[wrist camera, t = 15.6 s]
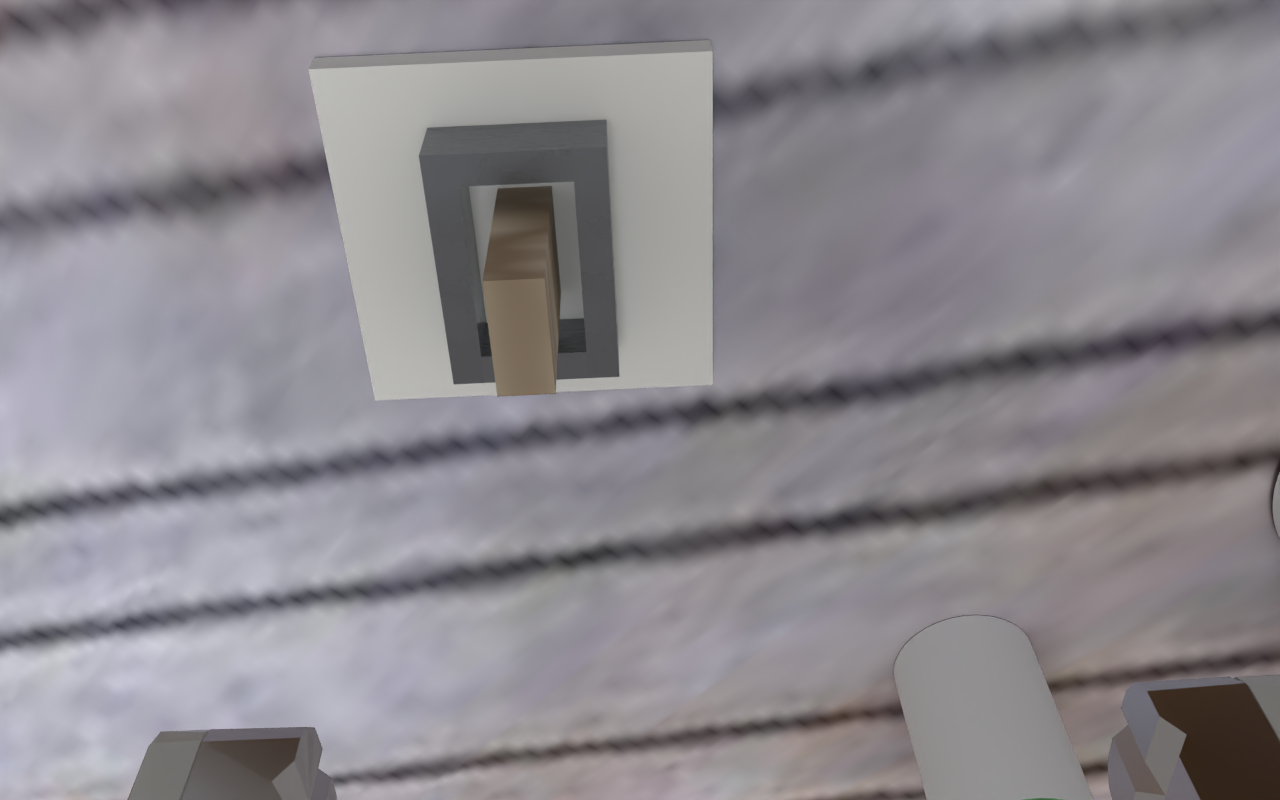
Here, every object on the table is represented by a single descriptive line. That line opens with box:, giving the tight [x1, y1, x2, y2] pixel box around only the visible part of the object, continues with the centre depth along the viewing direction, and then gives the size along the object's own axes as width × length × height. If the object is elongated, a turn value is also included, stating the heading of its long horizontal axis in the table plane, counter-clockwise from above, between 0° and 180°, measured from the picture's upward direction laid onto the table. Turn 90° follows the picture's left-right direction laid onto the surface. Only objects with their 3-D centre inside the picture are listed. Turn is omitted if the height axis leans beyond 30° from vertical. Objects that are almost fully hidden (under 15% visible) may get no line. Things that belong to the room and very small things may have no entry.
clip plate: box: [308, 40, 713, 401], centre depth 45 cm, size 14×14×1 cm
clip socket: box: [419, 120, 620, 384], centre depth 44 cm, size 6×9×2 cm
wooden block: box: [482, 186, 561, 396], centre depth 42 cm, size 2×4×7 cm, turn 2°
